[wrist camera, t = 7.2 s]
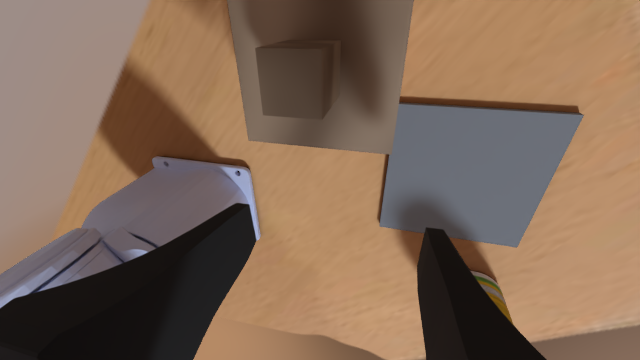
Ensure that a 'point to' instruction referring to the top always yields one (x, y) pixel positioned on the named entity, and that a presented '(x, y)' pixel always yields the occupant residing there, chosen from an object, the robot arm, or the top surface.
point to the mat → (472, 169)
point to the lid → (321, 70)
